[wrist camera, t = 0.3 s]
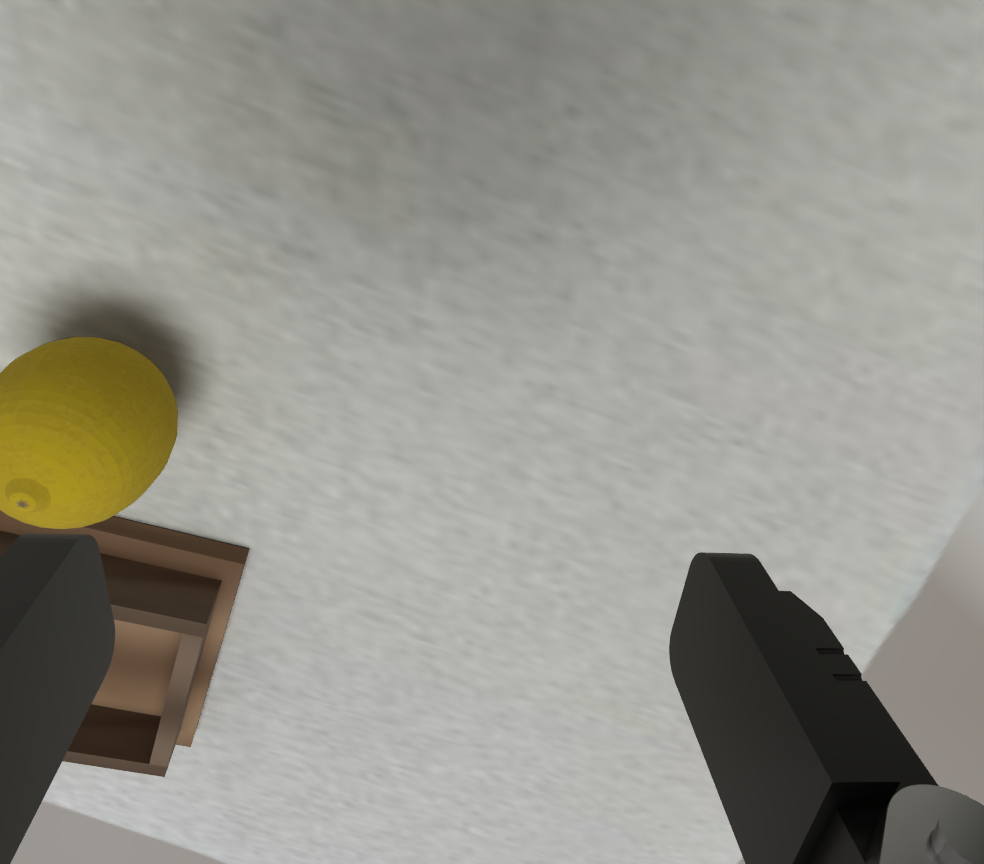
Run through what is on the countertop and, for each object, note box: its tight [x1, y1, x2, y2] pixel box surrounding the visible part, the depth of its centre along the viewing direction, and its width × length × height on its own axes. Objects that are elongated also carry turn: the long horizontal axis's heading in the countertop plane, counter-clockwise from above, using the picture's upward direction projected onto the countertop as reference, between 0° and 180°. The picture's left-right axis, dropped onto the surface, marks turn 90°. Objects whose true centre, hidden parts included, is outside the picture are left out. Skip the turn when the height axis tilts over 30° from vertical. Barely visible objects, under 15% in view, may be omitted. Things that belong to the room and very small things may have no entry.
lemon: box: [0, 337, 178, 529], centre depth 23 cm, size 6×6×8 cm
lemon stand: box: [0, 510, 249, 777], centre depth 31 cm, size 13×12×4 cm
